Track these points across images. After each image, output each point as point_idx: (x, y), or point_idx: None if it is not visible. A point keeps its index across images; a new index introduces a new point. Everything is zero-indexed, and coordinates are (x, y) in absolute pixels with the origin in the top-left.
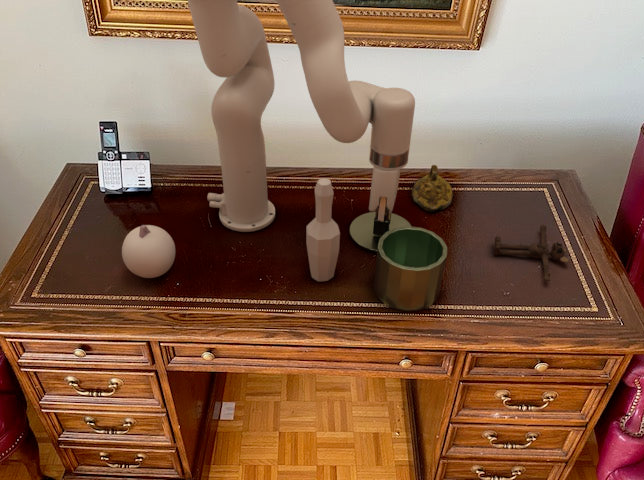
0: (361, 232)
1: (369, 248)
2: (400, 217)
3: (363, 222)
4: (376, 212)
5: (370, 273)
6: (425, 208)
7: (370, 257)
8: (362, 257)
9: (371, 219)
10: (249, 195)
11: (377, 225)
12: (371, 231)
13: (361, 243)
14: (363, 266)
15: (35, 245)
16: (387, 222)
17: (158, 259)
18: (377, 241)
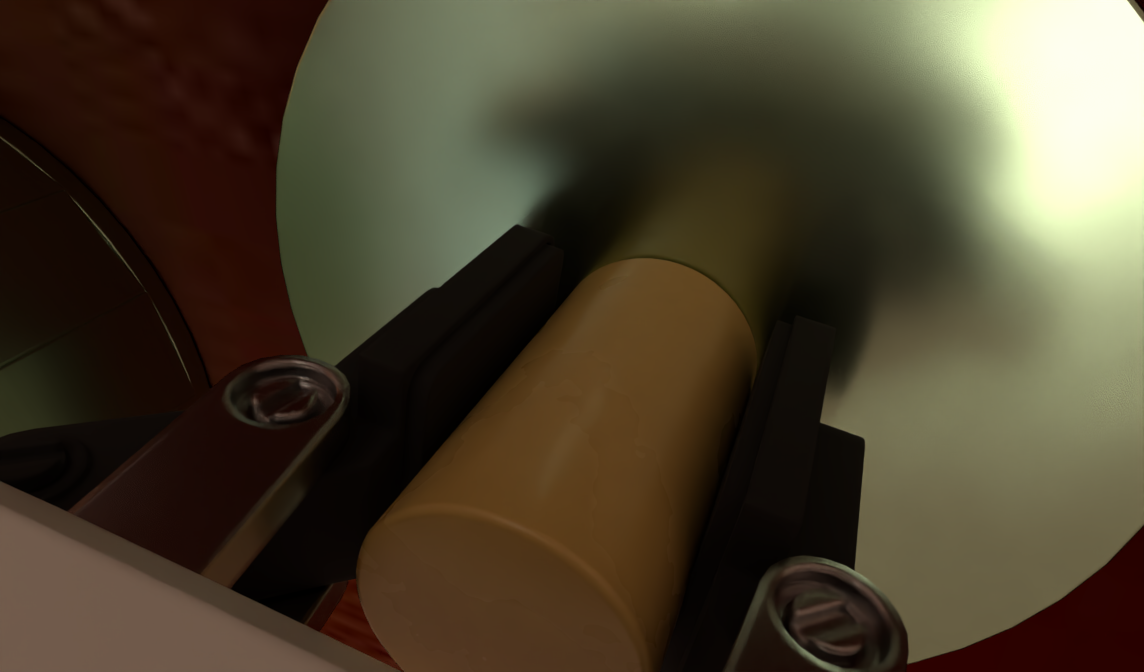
0: (607, 39)
1: (284, 119)
2: (928, 643)
3: (901, 110)
4: (88, 507)
5: (52, 73)
6: None
7: (263, 107)
8: (241, 5)
9: (967, 268)
10: None
11: (358, 352)
12: (632, 208)
13: (356, 13)
14: (114, 4)
15: None
16: None
17: None
18: (427, 246)
